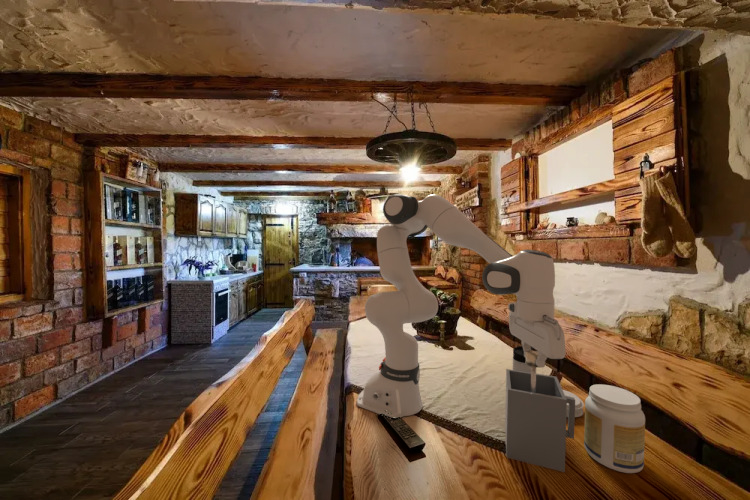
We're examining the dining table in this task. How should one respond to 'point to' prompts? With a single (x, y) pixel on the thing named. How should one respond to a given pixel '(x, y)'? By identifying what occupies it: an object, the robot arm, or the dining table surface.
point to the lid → (578, 404)
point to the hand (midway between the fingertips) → (533, 362)
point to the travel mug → (520, 360)
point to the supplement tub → (615, 428)
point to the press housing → (537, 420)
